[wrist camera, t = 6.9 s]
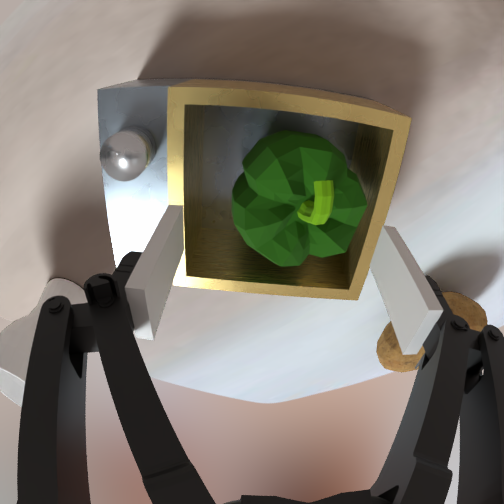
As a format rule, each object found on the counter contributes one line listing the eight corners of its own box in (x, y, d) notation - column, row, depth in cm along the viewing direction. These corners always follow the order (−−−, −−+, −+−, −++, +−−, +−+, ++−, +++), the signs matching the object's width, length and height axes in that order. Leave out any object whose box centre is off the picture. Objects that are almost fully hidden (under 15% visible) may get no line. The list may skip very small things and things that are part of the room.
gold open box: (143, 226, 30) (108, 286, 22) (136, 79, 22) (81, 94, 15) (339, 243, 30) (360, 309, 23) (370, 99, 22) (418, 121, 15)
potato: (364, 295, 34) (381, 351, 27) (471, 263, 31) (503, 309, 25) (370, 347, 39) (382, 397, 33) (462, 317, 36) (485, 362, 30)
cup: (40, 254, 32) (-26, 345, 20) (113, 294, 35) (65, 401, 23) (36, 306, 38) (-12, 388, 25) (98, 339, 40) (62, 430, 28)
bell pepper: (304, 232, 28) (349, 306, 19) (212, 207, 25) (222, 282, 17) (344, 143, 24) (417, 186, 16) (249, 106, 22) (283, 125, 13)
